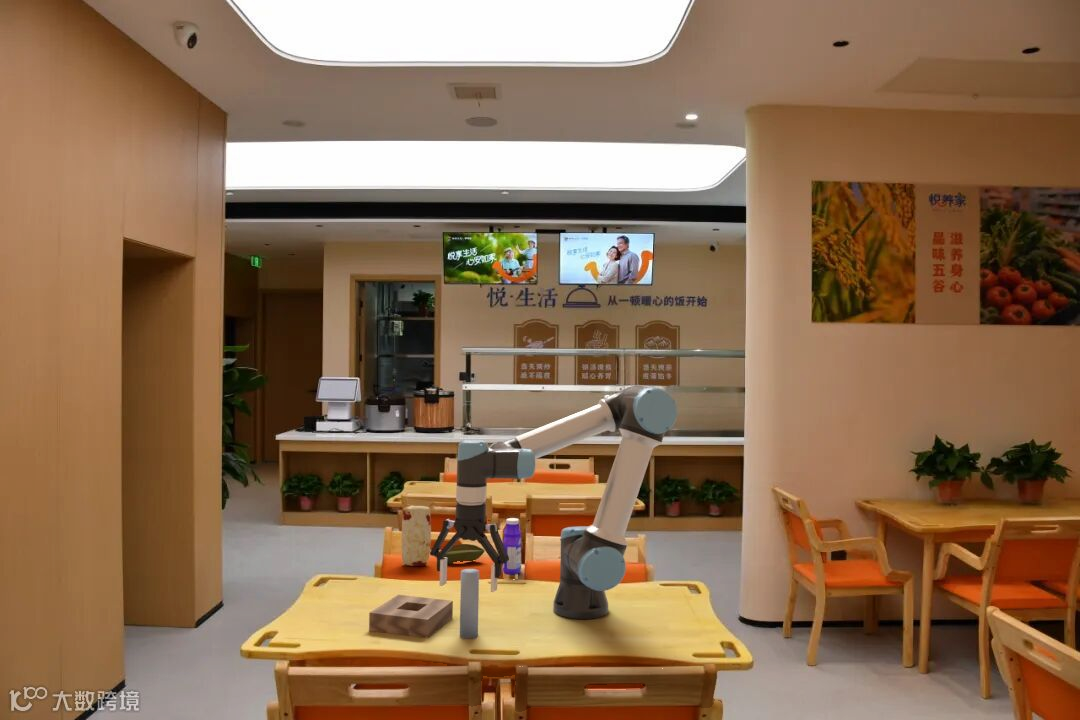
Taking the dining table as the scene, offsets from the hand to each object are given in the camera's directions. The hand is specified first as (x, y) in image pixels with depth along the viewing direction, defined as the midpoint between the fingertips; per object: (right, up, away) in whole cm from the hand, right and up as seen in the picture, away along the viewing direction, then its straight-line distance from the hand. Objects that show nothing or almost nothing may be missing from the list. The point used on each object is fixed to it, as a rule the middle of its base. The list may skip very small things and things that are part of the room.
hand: (468, 587), depth 195 cm
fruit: (-9, -12, +69) cm, 71 cm away
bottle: (+9, -12, +58) cm, 60 cm away
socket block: (-15, -12, +8) cm, 21 cm away
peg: (0, -12, 0) cm, 12 cm away
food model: (-23, -12, +65) cm, 70 cm away
